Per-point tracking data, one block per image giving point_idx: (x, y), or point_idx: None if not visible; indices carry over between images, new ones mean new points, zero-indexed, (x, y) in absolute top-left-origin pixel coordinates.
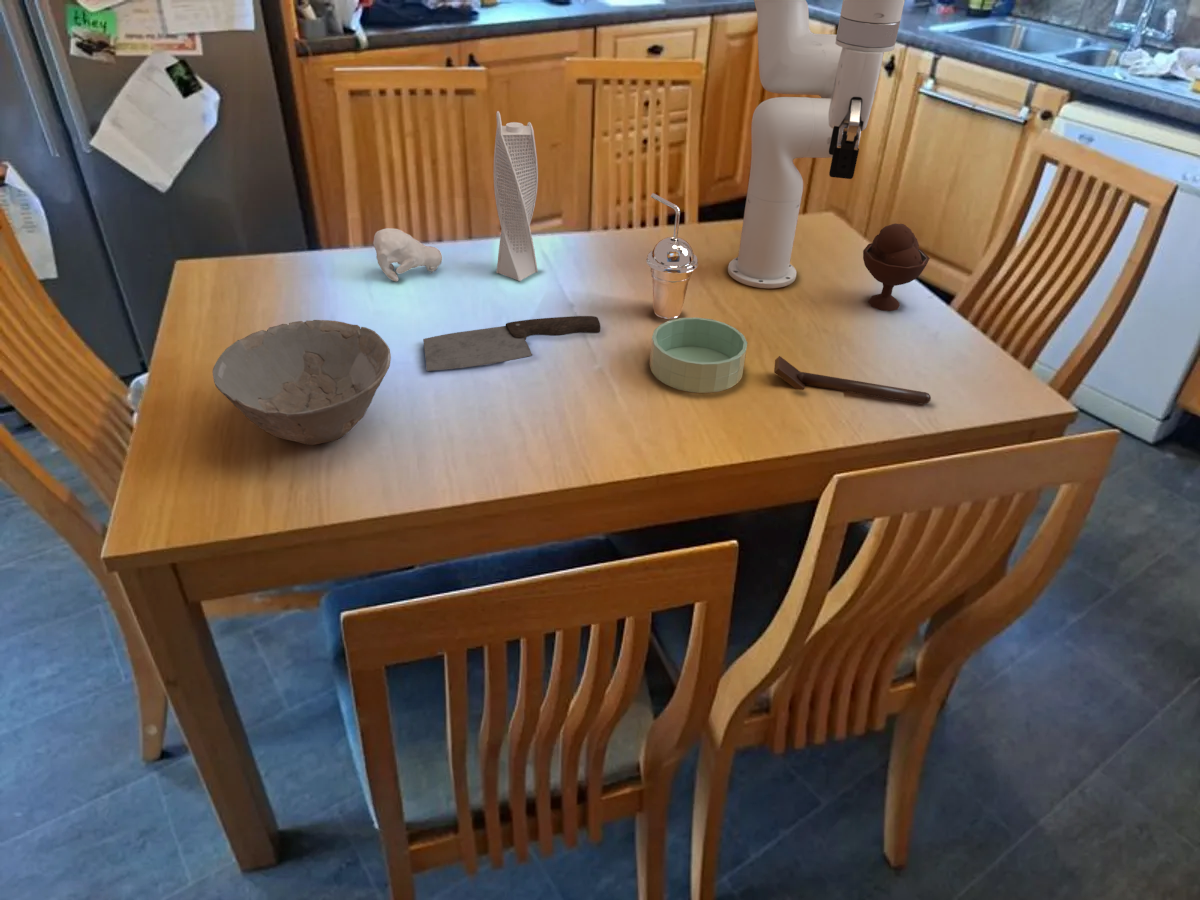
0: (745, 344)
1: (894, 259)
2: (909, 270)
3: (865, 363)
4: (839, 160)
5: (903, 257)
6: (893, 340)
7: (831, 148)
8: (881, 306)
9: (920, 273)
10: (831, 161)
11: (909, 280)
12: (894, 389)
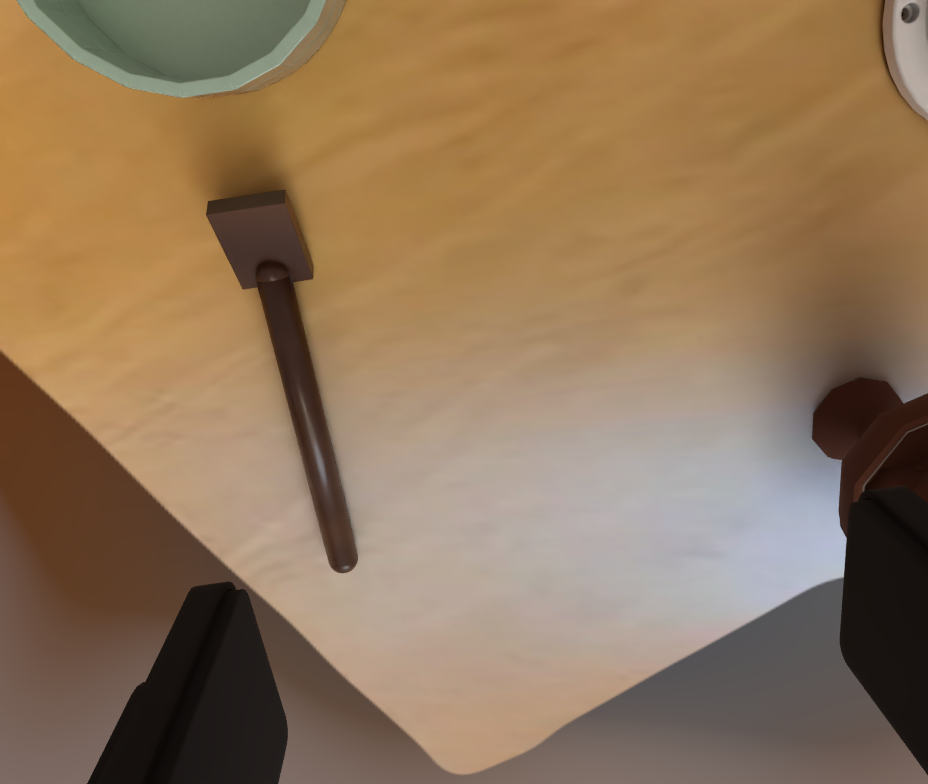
0: (216, 86)
1: None
2: None
3: (482, 412)
4: (98, 774)
5: None
6: (638, 464)
7: (880, 533)
8: (822, 420)
9: None
10: (187, 665)
11: None
12: (319, 504)
